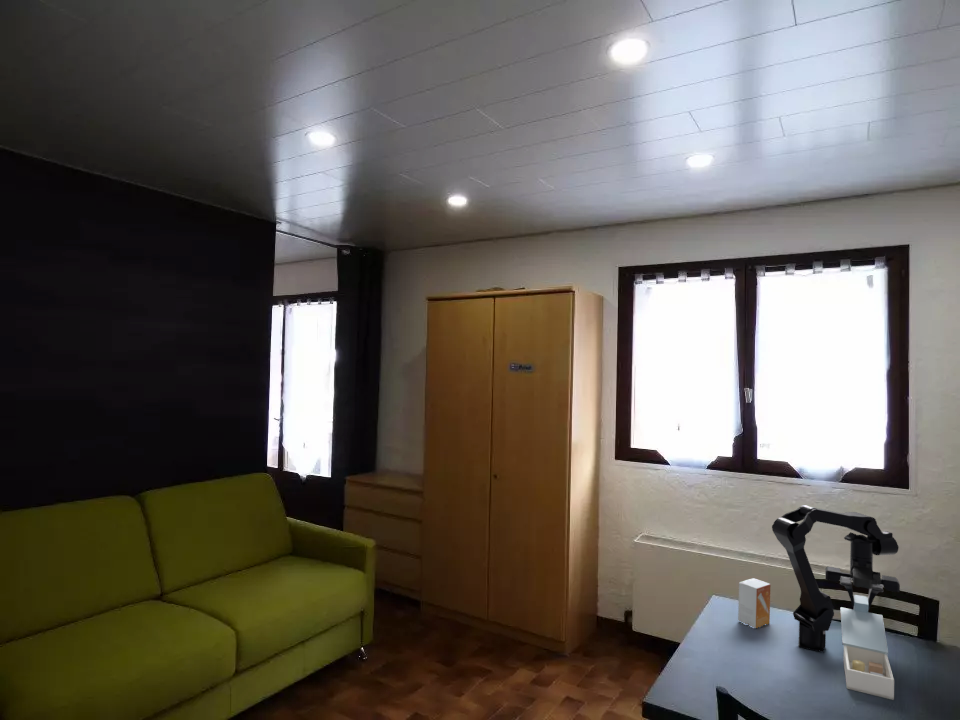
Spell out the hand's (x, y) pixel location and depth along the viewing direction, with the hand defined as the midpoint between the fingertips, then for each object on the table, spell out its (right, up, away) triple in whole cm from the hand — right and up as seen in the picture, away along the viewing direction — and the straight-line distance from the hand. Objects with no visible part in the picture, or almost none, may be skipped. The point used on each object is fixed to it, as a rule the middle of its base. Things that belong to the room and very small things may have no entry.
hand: (860, 607), depth 178 cm
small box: (-27, -10, +12) cm, 31 cm away
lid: (-4, -3, -7) cm, 8 cm away
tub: (-12, -10, -22) cm, 27 cm away
